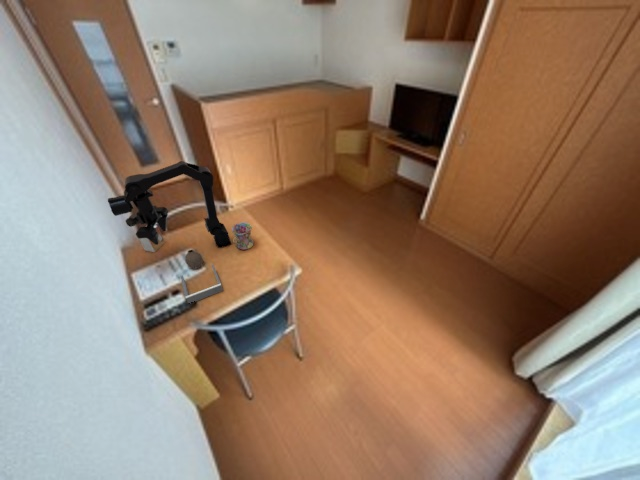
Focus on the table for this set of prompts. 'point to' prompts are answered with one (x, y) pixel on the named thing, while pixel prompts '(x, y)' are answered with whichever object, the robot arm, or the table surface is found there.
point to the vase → (193, 259)
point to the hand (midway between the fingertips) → (160, 237)
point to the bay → (204, 292)
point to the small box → (149, 244)
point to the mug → (243, 235)
